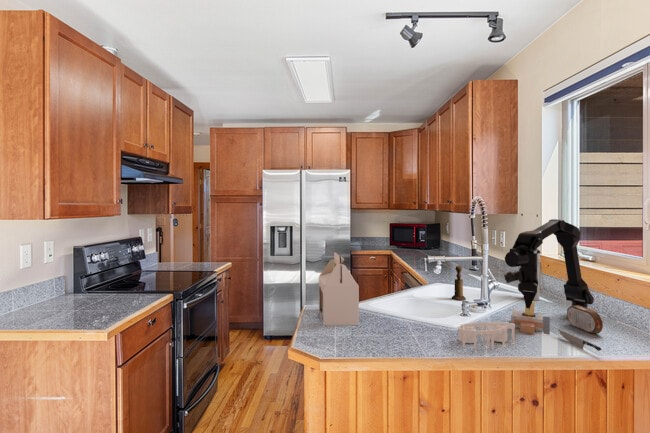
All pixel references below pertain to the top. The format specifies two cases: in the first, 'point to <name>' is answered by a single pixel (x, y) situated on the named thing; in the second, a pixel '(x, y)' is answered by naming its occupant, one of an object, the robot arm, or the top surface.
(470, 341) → the car outline toy
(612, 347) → the top surface
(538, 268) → the water bottle
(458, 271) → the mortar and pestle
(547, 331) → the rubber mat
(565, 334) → the chef's knife
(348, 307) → the gable box
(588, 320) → the tin
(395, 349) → the top surface
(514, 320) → the clevis bracket
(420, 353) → the top surface
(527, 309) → the brass pin
